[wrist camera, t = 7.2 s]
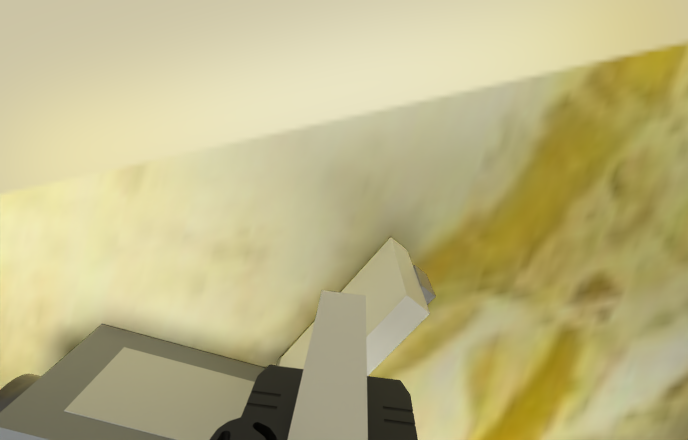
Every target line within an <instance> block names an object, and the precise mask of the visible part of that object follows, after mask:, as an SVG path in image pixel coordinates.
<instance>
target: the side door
mask: <svg viewBox="0 0 688 440" xmlns="http://www.w3.org/2000/svg"><path fill="white" fill-rule="evenodd" d="M340 293H348V294H356V295H364V296H366V346H367V376H368V375H369V374H370V373H371V372H372V371H373V370H374V369H375V368H376V367H377V366H378V365H379V364H380V363H381V362H382V361H383V360H384V359H385V358H386V357H387V356H388V355H389V354H390V353H391V352H392V351H393V350H394V349H395V348H396V347H397V346H398V345H399V344H400V343H401V342H402V341H403V340H404V339H405V338H406V337H407V336H408V335H409V334H410V333H411V332H412V331H413V330H414V329H415V328H416V327H417V326H418V325H419V324H420V323H421V322H422V321H423V320H424V319H425V318H426V317H427V316H428V315H429V314H430V312H429V309H428V306H427V305H428V304H429V303H430V302H431V301H432V300H433V299H434V298H435V297H436V296H435V294H434V291H433V289H432V287H431V284H430V282H429V279H428V277H427V275H426V274H425V273H424V272H423V271H422V270H420V269H419V268H418V267H417V266H415V265H414V266H413V265H412V262H411V259H410V256H409V254H408V251H407V250H406V249H405V248H404V247H403V246H401V245H400V244H399V243H398V242H397V241H395V240H394V239H393V238H392V237H390V238H389V240H388V241H387V242H386V243H385V244H384V245H383V246H382V247H381V248H380V249H379V251H378V252H377V253H376V254H375V255H374V256H373V257H372V258H371V259H370V260H369V262H368V263H367V264H366V265H365V266H364V267H363V268H362V269H361V270H360V271H359V273H358V274H357V275H356V276H355V277H354V278H353V279H352V280H351V281H350V282H349V284H348V285H347V286H346V287H345V288H344V289H343V290H342V291H341V292H340ZM314 322H315V321H314ZM314 322H313V323H312V324H311V325H310V327H309V328H308V329H307V330H306V331H305V332H304V333H303V334H302V335H301V336H300V338H299V339H298V340H297V341H296V342H295V343H294V344H293V345H292V346H291V347H290V349H289V350H288V351H287V352H286V353H285V354H284V355H283V356H281V357H280V358H279V359H278V361H277V365H276V366H283V367H290V368H298V369H304V366H305V361H306V357H307V353H308V348H309V344H310V340H311V335H312V331H313V327H314Z"/></svg>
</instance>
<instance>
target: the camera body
mask: <svg viewBox="0 0 688 440" xmlns="http://www.w3.org/2000/svg"><path fill="white" fill-rule="evenodd" d="M265 369H266V368H263V367H259V366H256V365H252V364H248V363H245V362H241V361H237V360H234V359H230V358H226V357H222V356H219V355H215V354H211V353H208V352H204V351H200V350H196V349H193V348H189V347H185V346H182V345H178V344H174V343H170V342H167V341H163V340H159V339H156V338H152V337H148V336H144V335H141V334H137V333H133V332H130V331H126V330H122V329H118V328H115V327H111V326H107V325H104V324H101V325H100V326H99V327H98V328H97V329H96V330H95V331H93V332H92V333H91V334H90V335H89V336H88V337H86V338H85V339H84V340H83V341H82V342H81V343H80V344H78V345H77V346H76V347H75V348H74V349H73V350H72V351H70V352H69V353H68V354H67V355H66V356H65V357H63V358H62V359H61V360H60V361H59V362H58V363H57V364H55V365H54V366H53V367H52V368H51V369H50V370H49V371H47V372H46V373H45V374H44V375H43V376H42V377H41V376H37V375H33V374H25V375H21V376H19V377H17V378H15V379H14V380H12V381H11V382H9V383H8V384H7V385H5V386H4V387H3V388H2V389H1V390H0V440H210V438H211V437H212V435H213V434H214V433H215V431H216V430H217V429H218V428H219V427H221V426H222V425H224V424H225V423H227V422H228V421H230V420H234V419H237V418H240V417H241V416H242V413H243V411H244V408H245V406H246V404H247V401H248V398H249V396H250V393H251V391H252V388H253V386H254V383H255V381H256V378H257V376H258V375H259V374H260V373H261V372H262V371H263V370H265Z"/></svg>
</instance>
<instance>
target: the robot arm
mask: <svg viewBox="0 0 688 440" xmlns="http://www.w3.org/2000/svg"><path fill="white" fill-rule="evenodd" d="M210 440H418V439H417V433H416V427H415V421H414V415H413V409H412V403H411V396H410V394H409V392H408V391H407V389H406V388H405V386H404V385H403V384H402V382H401V381H400V380H393V379H385V378H378V377H370V376H367V346H366V296H364V295H356V294H348V293H340V292H332V291H324V290H322V292H321V296H320V301H319V305H318V309H317V314H316V318H315V322H314V327H313V331H312V335H311V340H310V344H309V348H308V353H307V357H306V361H305V366H304V369H298V368H290V367H283V366H275V365H269V366H268V367H267V368H266V369H265V370H263V371H262V372H261V373H260V374H259V375H258V376H257V378H256V381H255V383H254V386H253V388H252V391H251V393H250V396H249V398H248V401H247V404H246V406H245V408H244V411H243V413H242V416H241V417H240V418H237V419H234V420H230V421H228V422H227V423H225V424H224V425H222V426H221V427H219V428H218V429H217V430H216V431H215V433H214V434H213V435H212V437H211V438H210Z"/></svg>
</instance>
